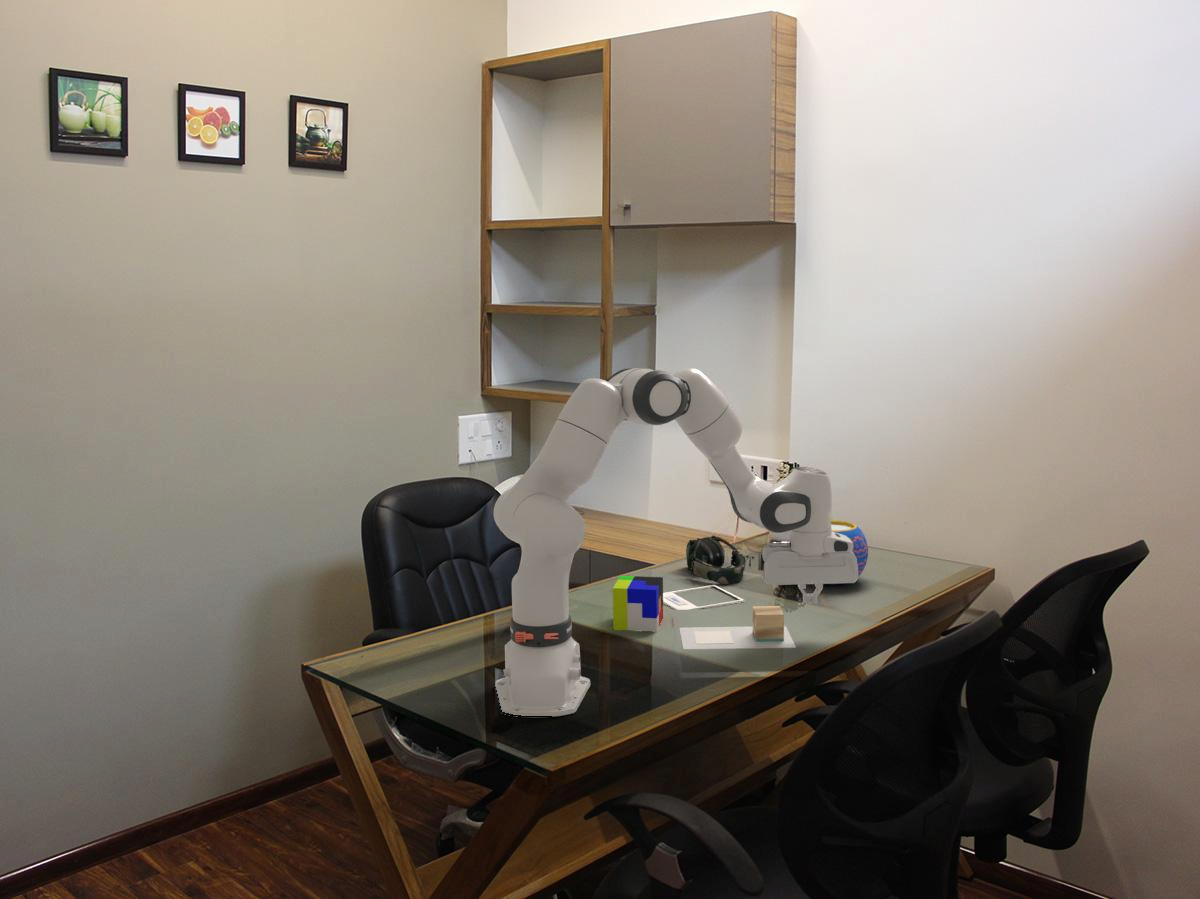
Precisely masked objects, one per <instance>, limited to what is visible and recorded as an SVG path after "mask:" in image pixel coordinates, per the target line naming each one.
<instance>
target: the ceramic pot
mask: <svg viewBox="0 0 1200 899" xmlns="http://www.w3.org/2000/svg"><path fill="white" fill-rule="evenodd" d="M830 523H831V527H832V532H835V533H839V534H842V535H845V536H847V537H848V538H849V539H850V540H851V541H852V543H853V550H852V552H853V553H854V555H855V556H856V559H857V565H858V578H859V577H860V576H861V575H862V573H863V571H864V570H865V568H866V566H867V562H868V558H869V547H868V541H867V538H866V536H865V533H864V532H863V531H862V529H861V528H860V527H859V526H857V525H856V524H854V523H852V522H848V521H842V520H830ZM841 584H843V583H832V584H831V585H841Z"/></svg>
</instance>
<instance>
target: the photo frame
mask: <svg viewBox="0 0 1200 899" xmlns="http://www.w3.org/2000/svg"><path fill="white" fill-rule="evenodd" d="M713 587H714V588H716V589H718V590H720V591H722V592H724V593H726V594H728V595H729V596H732V597H734V598H736V599H737V600H731V601H725V602H724V601H723V602H719V603H714V604H708V605H701V606H697V605H695V604H693V603H692V602H690V601H688V600H686V599H685V598H683V597H681V596H680V595H678V594H682V593H683V594H684V593H688V592H687V591H689V592H692V591H691V590H696V591H698V590H697V589H702V590H707V589H706V588H708V589H711V588H713ZM676 593H677V594H676ZM745 600H746V599H744V598H741V597H739V596H738V595H735V594H733V593H731V592H729V591H728V590H725V589H723V588H721V587H719V586H717V585H716V584H712V585H711V584H710V585H705V586H698V587H693V588H685V589H678V590H675V591H667V592H663V604H664V603H665V604H666V605H665V604H664V605H665V606H667V605H668V606H667V607H669V606H670V607H671V608H670V607H669V608H670V609H672V608H673V609H672V610H674V611H683V610H685V611H686V610H691V611H692V610H693V611H694V610H703V609H702V608H707V609H710V608H709V607H713V608H717V607H716V606H719V607H723V605H725V606H729V605H730V604H731V605H735V603H737V604H742V603H741V602H743V603H745V602H746V601H745Z"/></svg>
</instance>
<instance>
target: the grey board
mask: <svg viewBox="0 0 1200 899" xmlns="http://www.w3.org/2000/svg"><path fill="white" fill-rule="evenodd" d="M678 628H679V634H680V639H681V644H682V649H683V650H734V649H735V650H738V649H741V650H742V649H748V650H749V649H793V648H794V649H796V648H797V646H796V645H795V642H794V641H793V640H794V639H793V638H792V635H791V634H790V632H789V630H788V628H787V626H786V625H784V641H768V642H756V640H755V638H754V635H753V625H752V626H713V627H712V626H706V627H705V626H699V627H698V626H697V627H695V626H694V627H678Z"/></svg>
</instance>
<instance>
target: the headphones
mask: <svg viewBox="0 0 1200 899" xmlns="http://www.w3.org/2000/svg"><path fill="white" fill-rule="evenodd" d="M722 543H723V544H725V546H728V547H729V548H730V549H731V550H732V551H731V557H730V558H731V559H730V565H729V566H727V567H724V564H725V557H726V555H725V550H724V549H725V548H724V547H723V545H722ZM685 556H686V565H687V569H688V571H689V572H690V573H691V574H693V575H695V576H697V577H700V578H701V579H703V580H708V581H712V582H715V583H717V584H722V585H733V584H734V583H739V582H740V581H741V579H742V578H743V577H744V576H743V575H744V571H745V569H746V563H747V560H746V556H745V555H743V554H742V553H739V551H738V549H737V548H736V547H735V546H734V545H732V544H731V543H730V542H729V541H728V540H726V539H724V538H722V537H721V536H716V535H711V536H705V537H701V538H696V539H690V540H688V542H687V544H686V550H685ZM732 566H733V567H732Z"/></svg>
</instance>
